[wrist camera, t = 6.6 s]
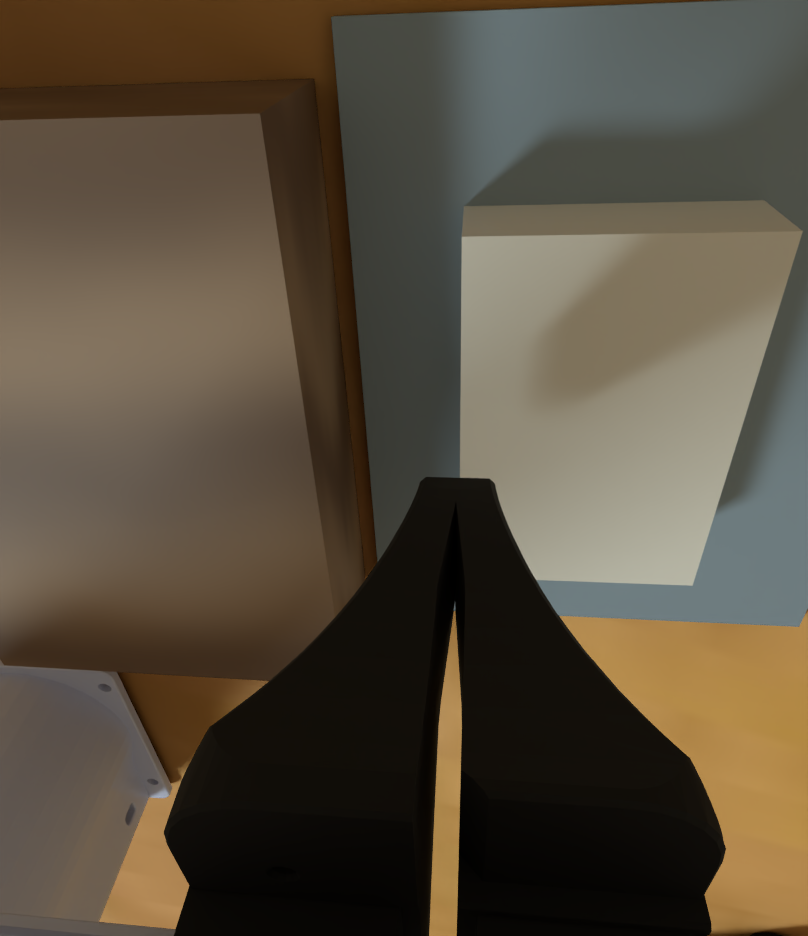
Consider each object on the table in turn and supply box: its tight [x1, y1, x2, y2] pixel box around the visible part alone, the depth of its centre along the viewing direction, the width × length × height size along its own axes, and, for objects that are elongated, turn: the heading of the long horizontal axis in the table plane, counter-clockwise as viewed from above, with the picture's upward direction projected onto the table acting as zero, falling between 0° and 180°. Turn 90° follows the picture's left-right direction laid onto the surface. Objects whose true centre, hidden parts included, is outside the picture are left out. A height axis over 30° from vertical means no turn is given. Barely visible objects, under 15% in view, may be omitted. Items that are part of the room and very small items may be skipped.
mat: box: [331, 0, 808, 627], centre depth 16 cm, size 16×13×1 cm
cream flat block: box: [460, 200, 803, 586], centre depth 15 cm, size 9×6×2 cm, turn 3°
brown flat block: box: [0, 79, 365, 681], centre depth 16 cm, size 14×10×4 cm
